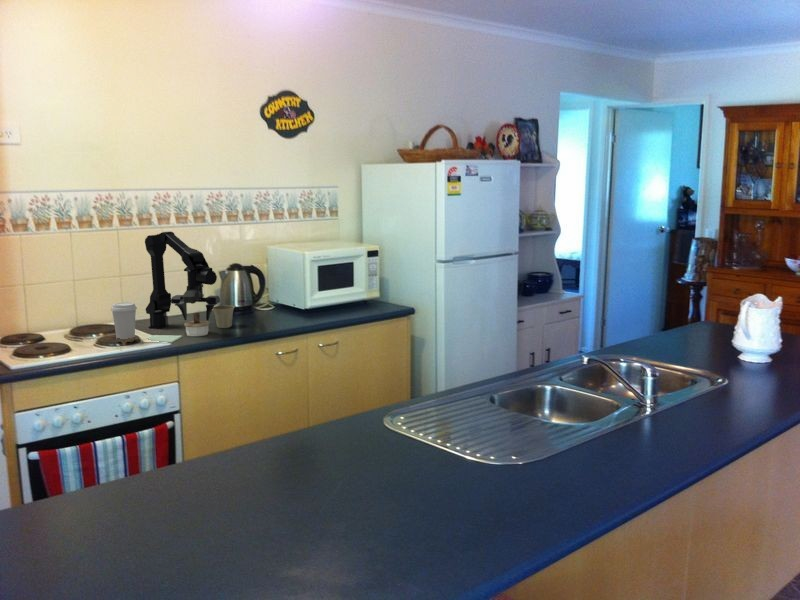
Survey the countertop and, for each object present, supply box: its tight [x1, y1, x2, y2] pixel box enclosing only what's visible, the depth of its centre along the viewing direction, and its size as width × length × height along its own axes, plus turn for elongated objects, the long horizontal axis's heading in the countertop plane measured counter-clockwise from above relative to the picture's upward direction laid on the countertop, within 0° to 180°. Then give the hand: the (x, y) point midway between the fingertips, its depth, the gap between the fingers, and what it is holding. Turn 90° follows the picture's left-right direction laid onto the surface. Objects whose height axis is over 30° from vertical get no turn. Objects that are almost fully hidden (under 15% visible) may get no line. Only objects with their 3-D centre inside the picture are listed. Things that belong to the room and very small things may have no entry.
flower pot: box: [212, 304, 236, 329], centre depth 317 cm, size 9×9×9 cm
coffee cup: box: [110, 301, 138, 339], centre depth 287 cm, size 10×10×15 cm
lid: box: [183, 312, 210, 328], centre depth 301 cm, size 10×10×5 cm
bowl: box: [185, 325, 209, 337], centre depth 302 cm, size 8×8×4 cm
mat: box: [146, 334, 183, 344], centre depth 292 cm, size 12×11×1 cm
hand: (196, 320), depth 301 cm, fingers open, 9 cm apart
